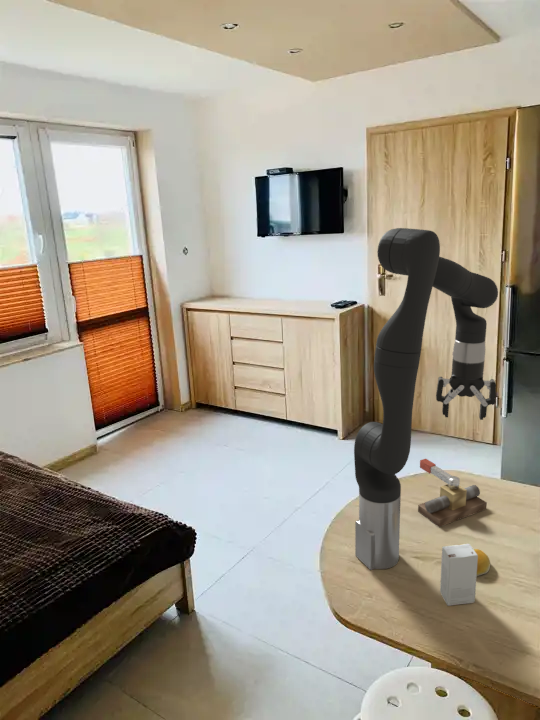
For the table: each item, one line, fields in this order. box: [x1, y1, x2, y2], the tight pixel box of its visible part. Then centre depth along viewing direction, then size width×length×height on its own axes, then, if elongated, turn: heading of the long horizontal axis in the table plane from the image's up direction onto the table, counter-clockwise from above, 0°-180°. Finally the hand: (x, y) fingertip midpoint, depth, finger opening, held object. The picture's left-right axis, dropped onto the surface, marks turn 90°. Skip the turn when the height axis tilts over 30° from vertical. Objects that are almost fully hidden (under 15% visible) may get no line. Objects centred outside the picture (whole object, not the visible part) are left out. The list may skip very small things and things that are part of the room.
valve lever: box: [419, 458, 461, 489], centre depth 150 cm, size 13×3×2 cm, turn 26°
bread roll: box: [458, 543, 491, 577], centre depth 128 cm, size 8×9×4 cm
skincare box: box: [439, 543, 478, 607], centre depth 116 cm, size 6×4×12 cm
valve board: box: [417, 483, 488, 528], centre depth 147 cm, size 16×8×7 cm, turn 116°
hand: (463, 417), depth 145 cm, fingers open, 8 cm apart
